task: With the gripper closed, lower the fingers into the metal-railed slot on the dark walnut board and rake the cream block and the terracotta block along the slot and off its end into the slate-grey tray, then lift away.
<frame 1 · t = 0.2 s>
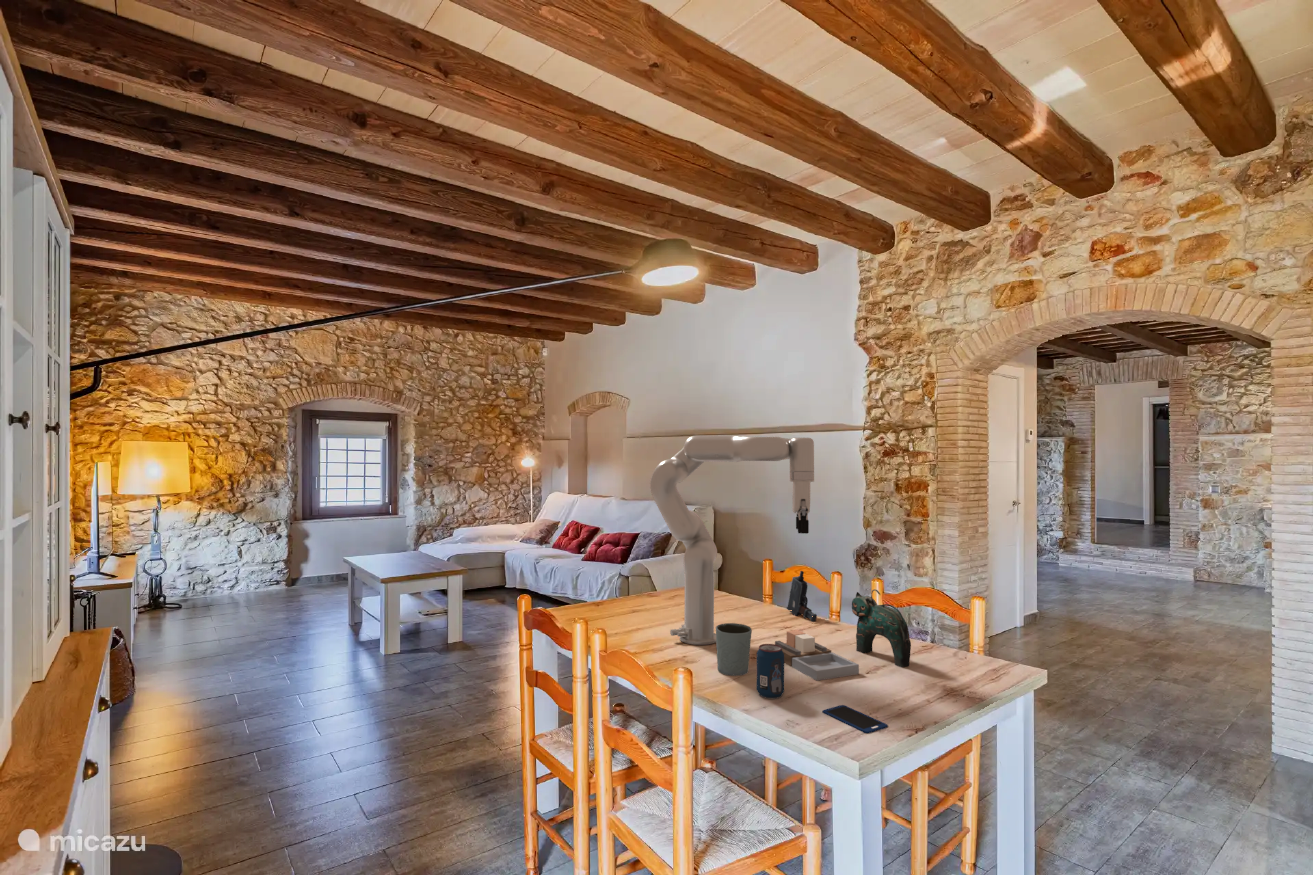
hand: (802, 531, 208), 36 cm above the table, tool pointing down, fingers open, 9 cm apart
tray: (824, 670, 186), on the table
soda can: (770, 695, 168), on the table
ceramic cat: (881, 658, 197), on the table
gun: (801, 617, 244), on the table
cream block: (805, 649, 194), point 3 cm above the table, touching slot board
cell phone: (854, 721, 153), on the table
green cup: (733, 671, 185), on the table
terracotta block: (795, 645, 199), point 3 cm above the table, touching slot board
slot board: (800, 657, 197), on the table
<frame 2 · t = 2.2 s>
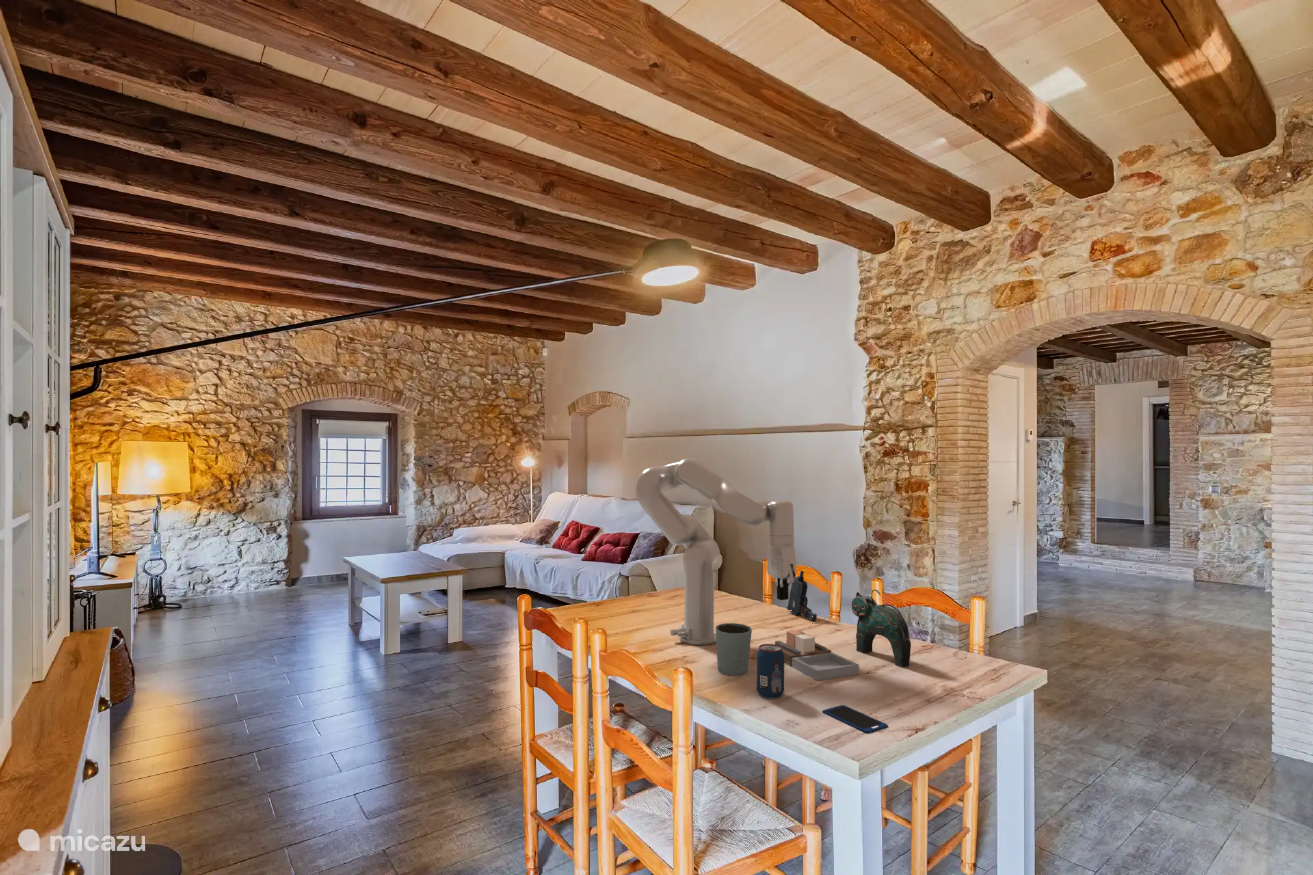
hand: (782, 599, 206), 15 cm above the table, tool pointing down, fingers closed
nothing on the table moved.
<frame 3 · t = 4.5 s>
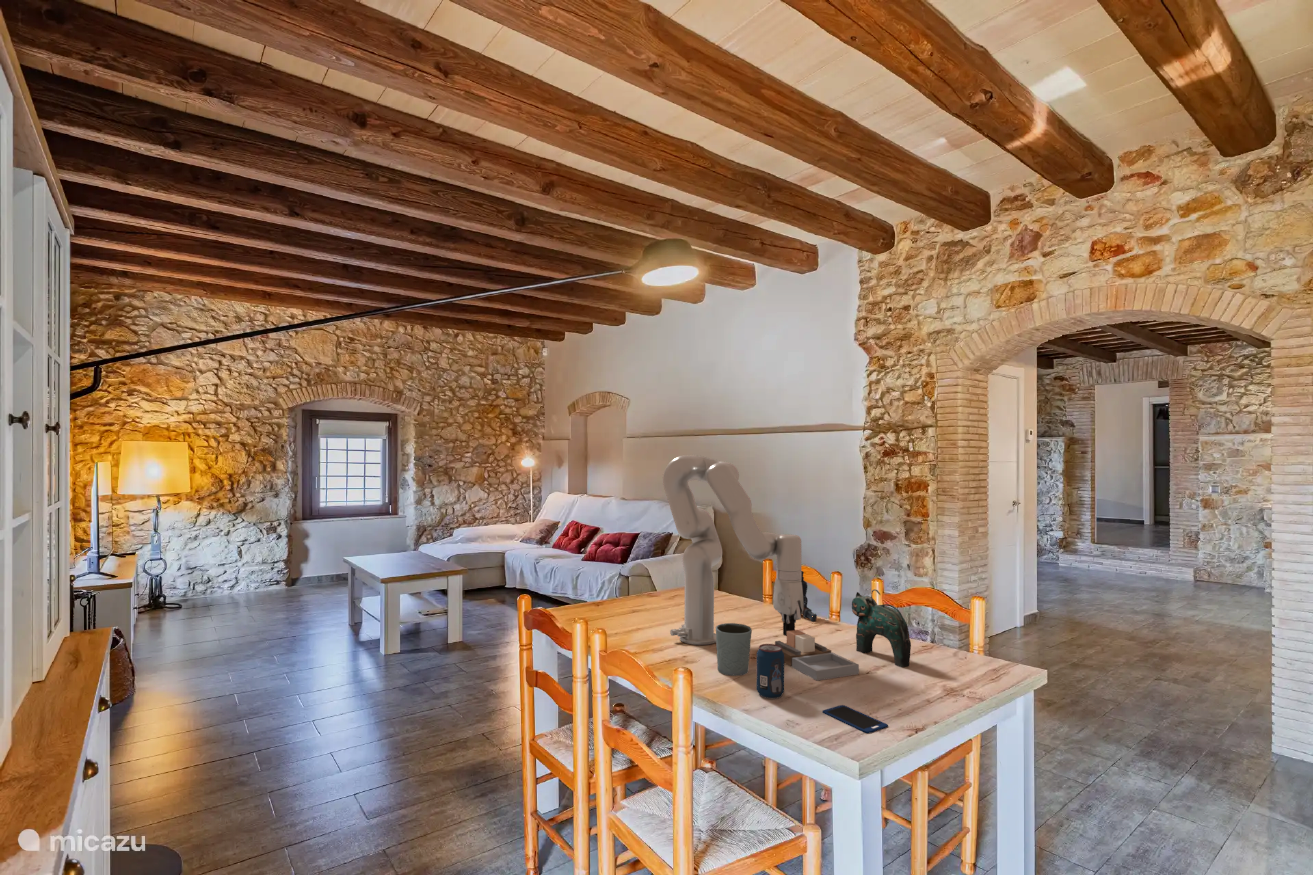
hand: (789, 635, 202), 5 cm above the table, tool pointing down, fingers closed
terracotta block: (795, 645, 199), point 3 cm above the table, touching gripper, slot board
everything else where it was.
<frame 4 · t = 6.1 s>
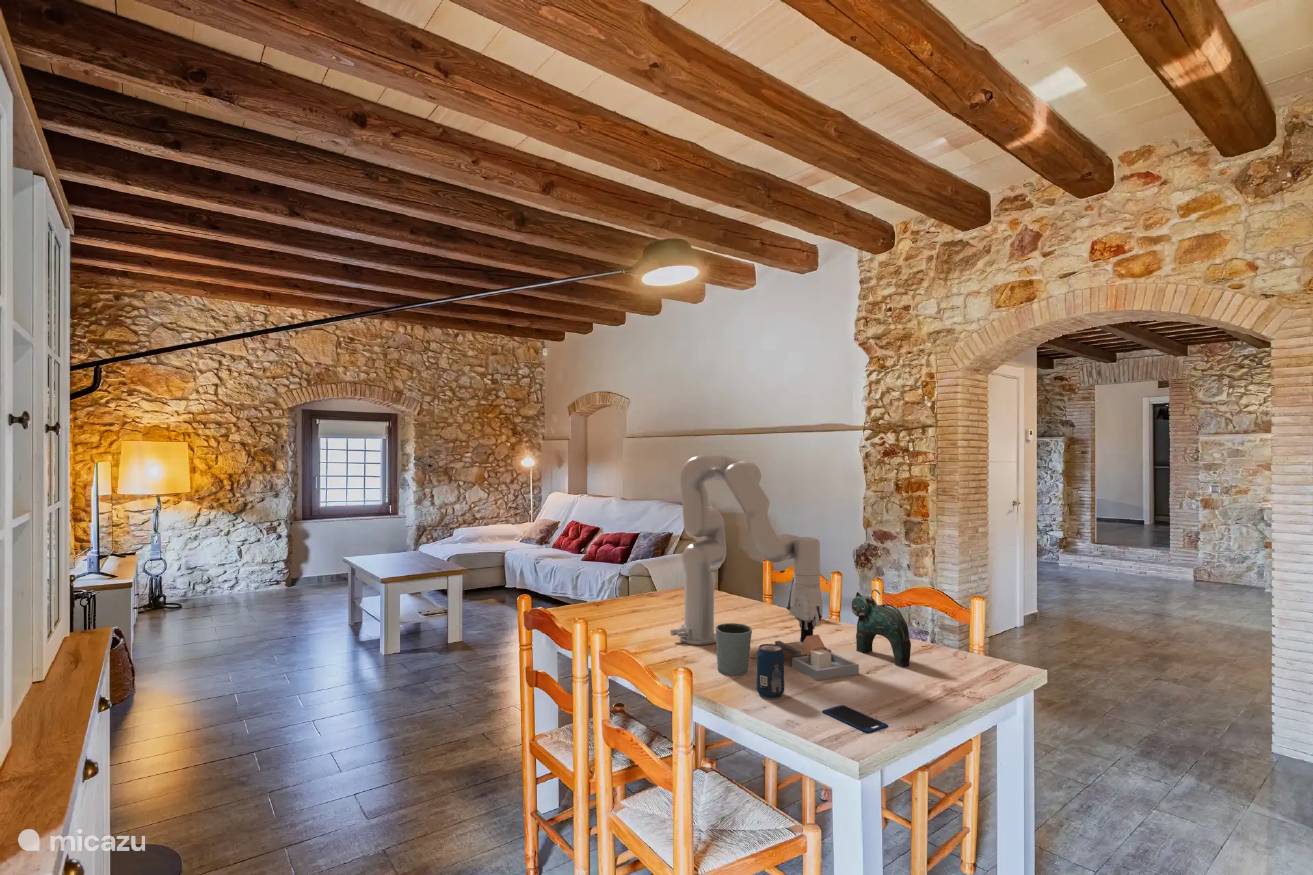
hand: (807, 642, 194), 5 cm above the table, tool pointing down, fingers closed
cream block: (816, 656, 189), point 3 cm above the table, tilted 90°, touching terracotta block, tray
terracotta block: (810, 649, 192), point 4 cm above the table, tilted 39°, touching cream block, gripper, tray
everything else where it was.
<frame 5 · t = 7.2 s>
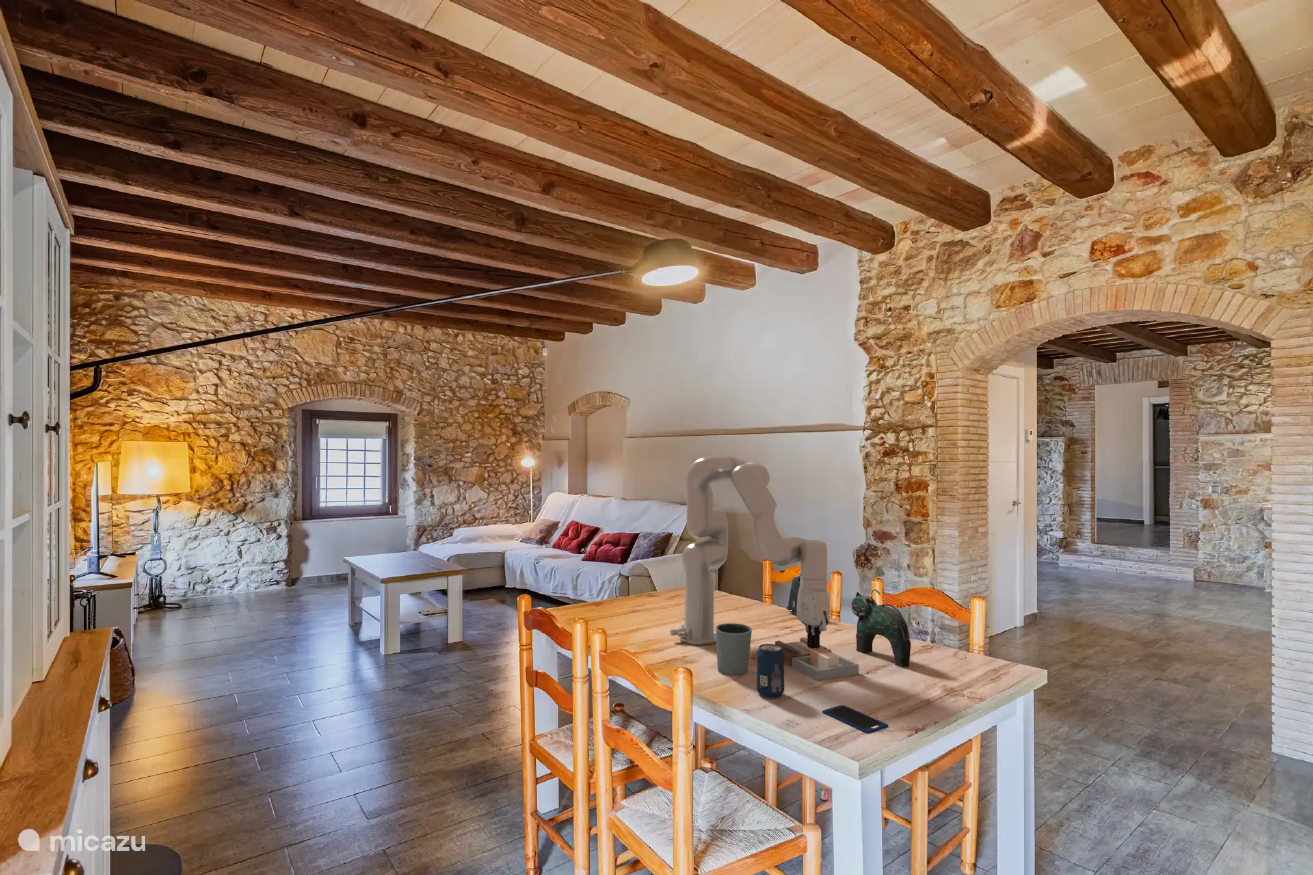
hand: (813, 647, 191), 5 cm above the table, tool pointing down, fingers closed
cream block: (824, 660, 186), point 3 cm above the table, tilted 90°, touching tray
terracotta block: (820, 664, 188), point 1 cm above the table, touching tray
everything else where it was.
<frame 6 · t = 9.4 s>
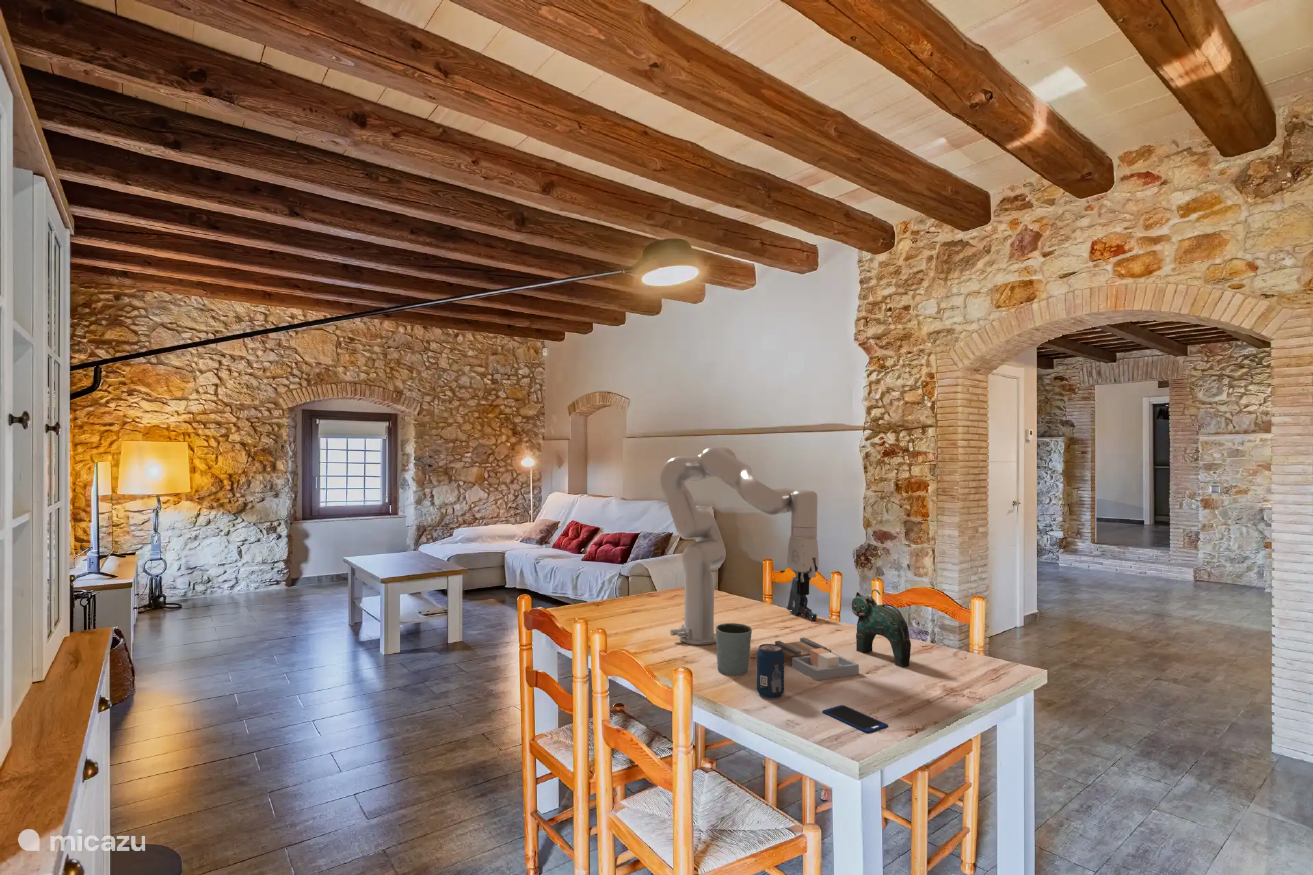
hand: (802, 594, 195), 19 cm above the table, tool pointing down, fingers closed
nothing on the table moved.
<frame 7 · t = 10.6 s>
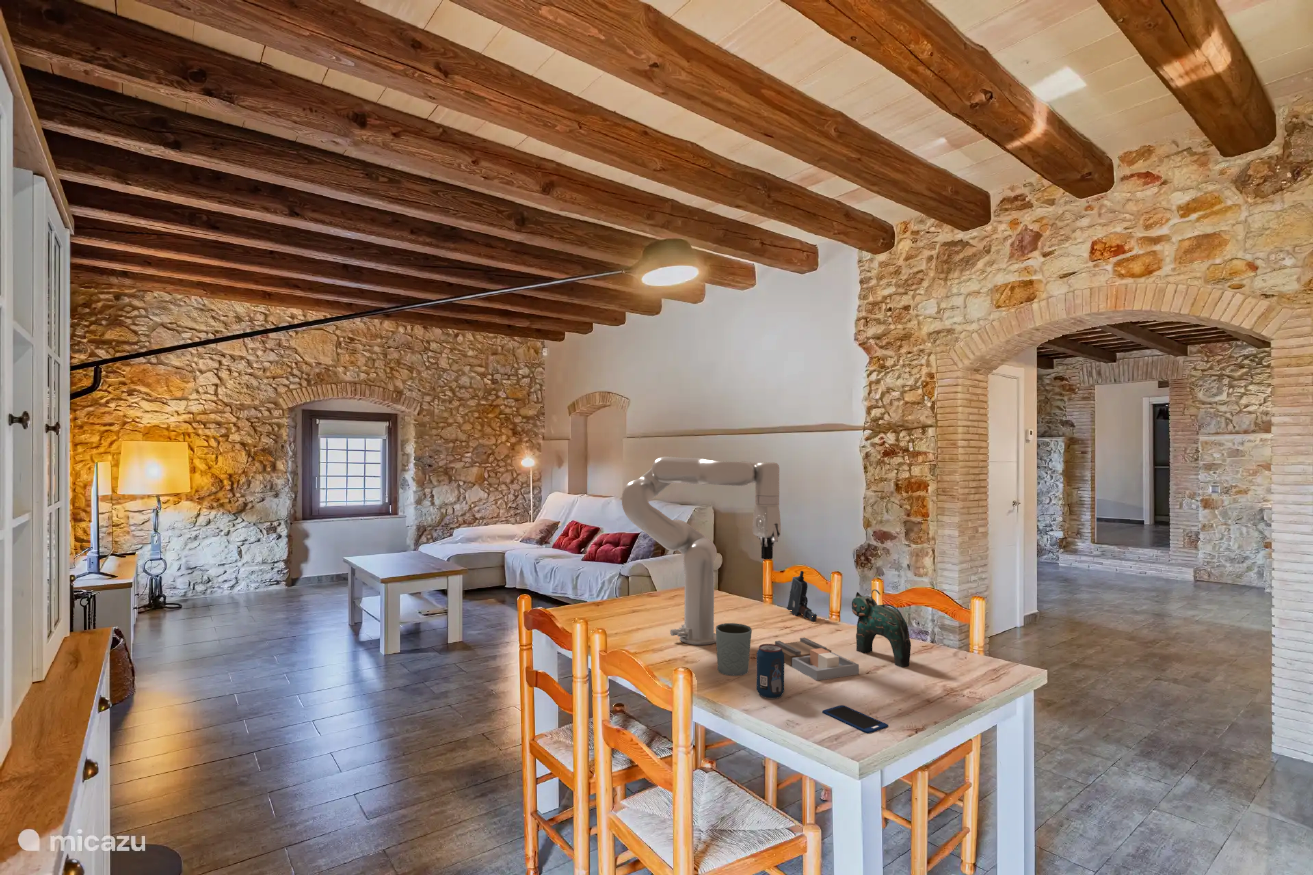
hand: (767, 558, 210), 27 cm above the table, tool pointing down, fingers closed
nothing on the table moved.
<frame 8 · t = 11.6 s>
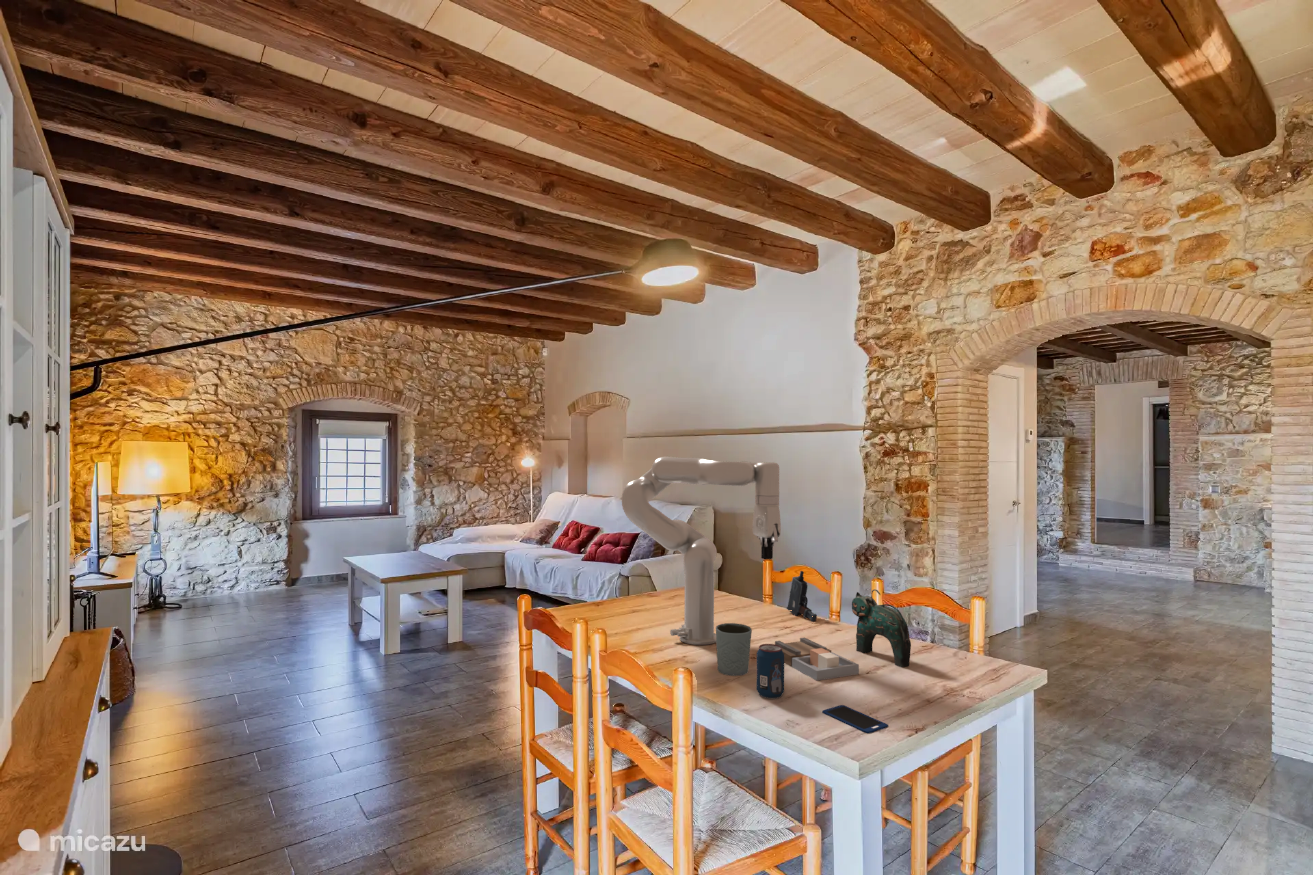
hand: (767, 558, 210), 27 cm above the table, tool pointing down, fingers closed
nothing on the table moved.
at the end: terracotta block inside the target area on the tray (2.4 cm from its centre), point 0.8 cm above the tray's base; cream block inside the target area on the tray (0.3 cm from its centre), point 2.8 cm above the tray's base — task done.
